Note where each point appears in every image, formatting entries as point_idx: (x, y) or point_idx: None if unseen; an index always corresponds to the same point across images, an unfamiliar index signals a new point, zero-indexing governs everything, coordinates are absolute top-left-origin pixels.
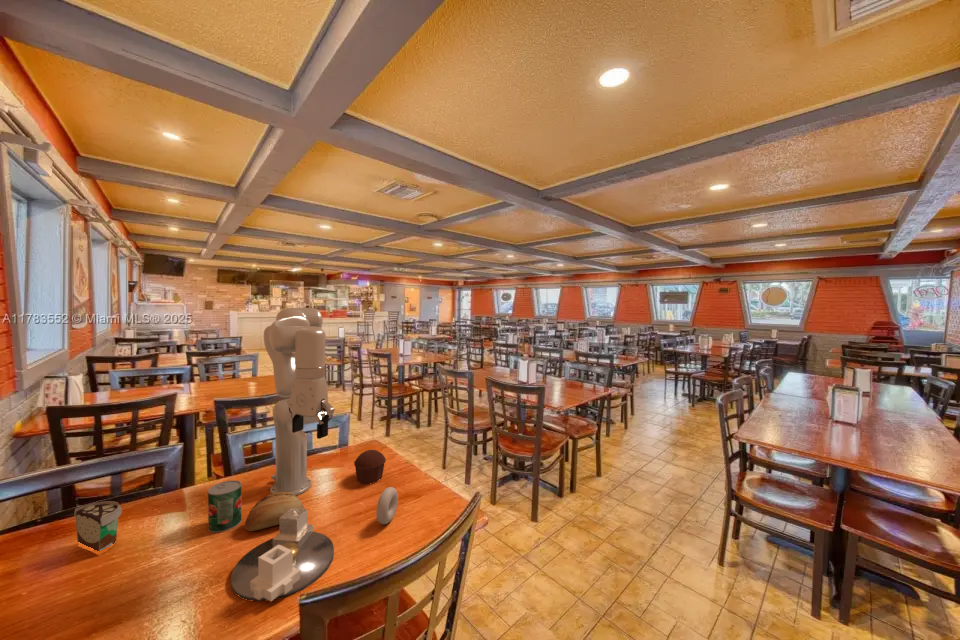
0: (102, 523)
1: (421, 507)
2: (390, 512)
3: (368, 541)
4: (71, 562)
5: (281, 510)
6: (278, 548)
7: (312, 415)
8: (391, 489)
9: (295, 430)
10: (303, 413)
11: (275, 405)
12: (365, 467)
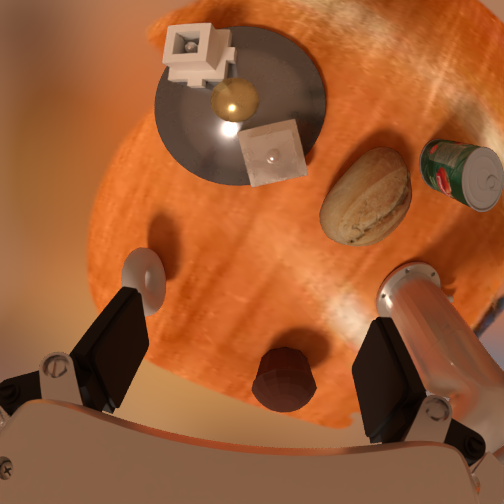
0: None
1: None
2: (145, 275)
3: (147, 208)
4: None
5: (343, 188)
6: (194, 53)
7: (30, 403)
8: None
9: (374, 332)
10: (188, 467)
11: None
12: (274, 371)
